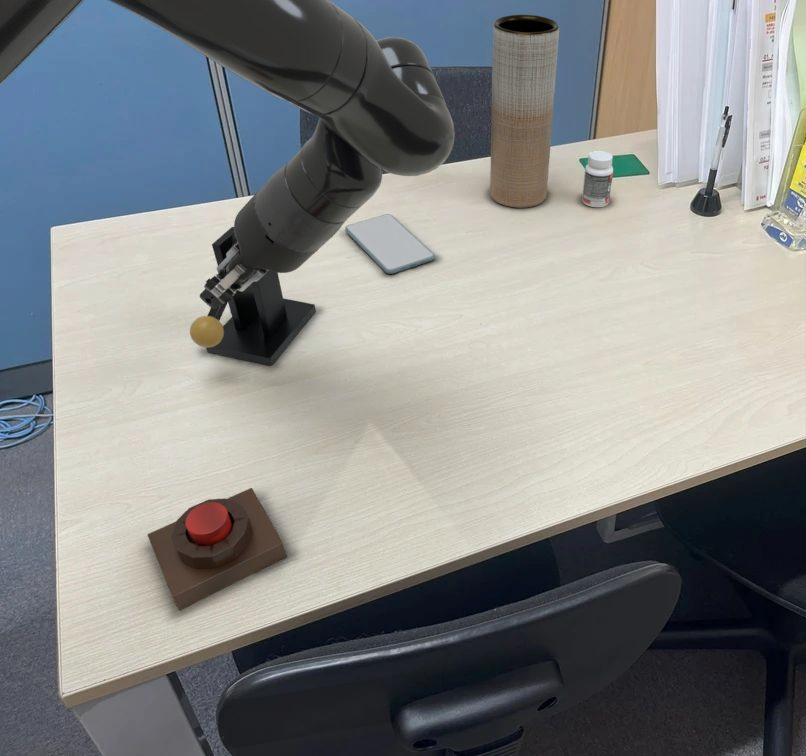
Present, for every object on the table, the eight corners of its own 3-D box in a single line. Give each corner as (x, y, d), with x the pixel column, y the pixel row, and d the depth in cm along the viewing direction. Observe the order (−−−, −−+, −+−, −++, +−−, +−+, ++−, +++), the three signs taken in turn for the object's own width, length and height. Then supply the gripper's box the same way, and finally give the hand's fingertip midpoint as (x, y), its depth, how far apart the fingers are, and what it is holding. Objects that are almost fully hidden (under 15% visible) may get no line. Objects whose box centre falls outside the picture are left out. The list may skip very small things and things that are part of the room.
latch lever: (222, 355, 81) (207, 341, 78) (194, 349, 81) (178, 335, 78) (267, 252, 86) (255, 235, 83) (241, 248, 87) (228, 231, 83)
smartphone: (387, 271, 102) (343, 225, 111) (388, 277, 103) (343, 231, 112) (437, 255, 106) (390, 212, 115) (437, 260, 106) (390, 217, 115)
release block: (179, 611, 62) (166, 586, 59) (154, 547, 67) (140, 522, 64) (287, 556, 67) (279, 531, 64) (256, 501, 71) (247, 475, 69)
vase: (547, 184, 126) (560, 16, 108) (545, 210, 119) (558, 35, 101) (493, 180, 127) (496, 12, 108) (487, 206, 119) (489, 31, 101)
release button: (197, 552, 62) (192, 540, 61) (185, 525, 65) (179, 513, 63) (237, 533, 64) (233, 522, 63) (224, 507, 66) (219, 495, 65)
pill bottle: (611, 207, 120) (618, 161, 115) (584, 208, 120) (590, 161, 114) (605, 194, 124) (611, 149, 118) (579, 195, 124) (584, 149, 118)
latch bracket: (271, 366, 87) (248, 271, 78) (207, 352, 89) (176, 258, 79) (316, 311, 96) (299, 220, 87) (256, 299, 97) (234, 209, 88)
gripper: (296, 157, 70) (216, 244, 80) (223, 219, 60) (142, 309, 71) (351, 213, 73) (267, 291, 83) (290, 281, 63) (202, 360, 73)
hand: (209, 299), depth 77 cm, fingers closed
